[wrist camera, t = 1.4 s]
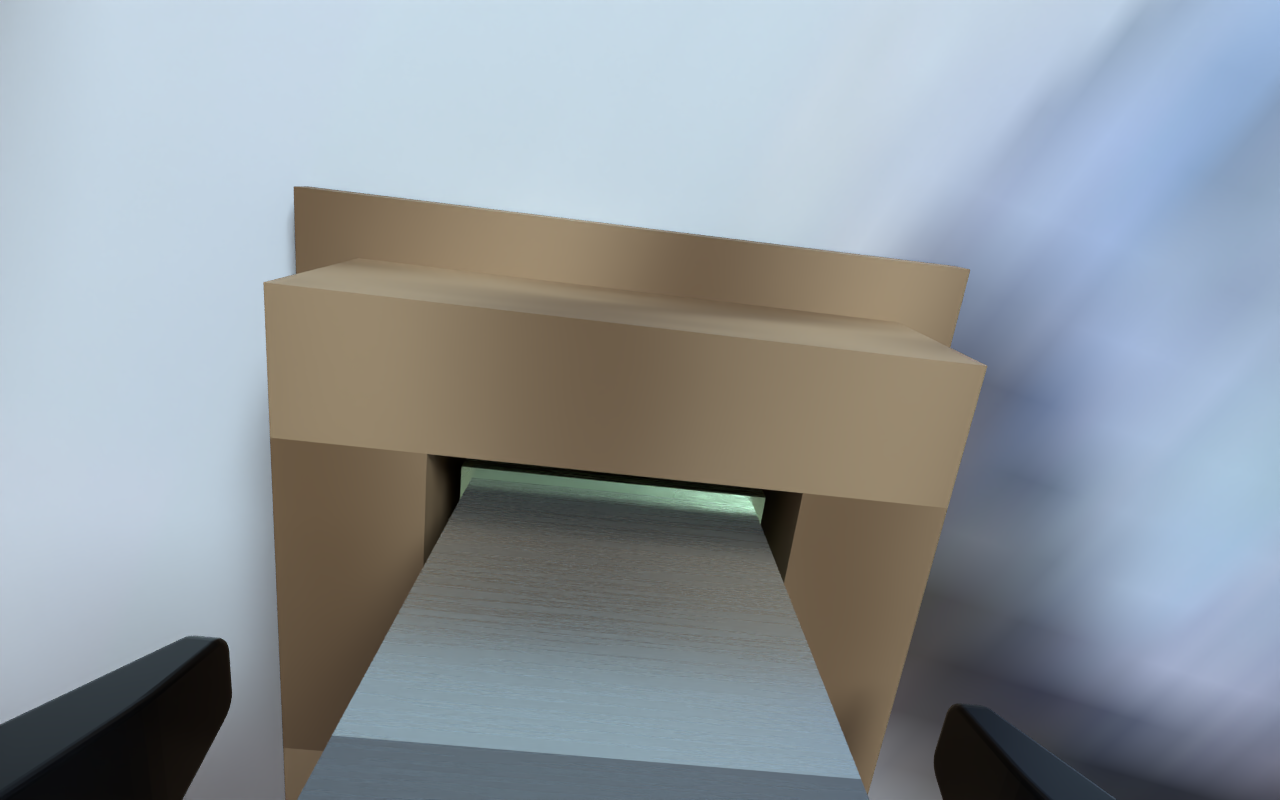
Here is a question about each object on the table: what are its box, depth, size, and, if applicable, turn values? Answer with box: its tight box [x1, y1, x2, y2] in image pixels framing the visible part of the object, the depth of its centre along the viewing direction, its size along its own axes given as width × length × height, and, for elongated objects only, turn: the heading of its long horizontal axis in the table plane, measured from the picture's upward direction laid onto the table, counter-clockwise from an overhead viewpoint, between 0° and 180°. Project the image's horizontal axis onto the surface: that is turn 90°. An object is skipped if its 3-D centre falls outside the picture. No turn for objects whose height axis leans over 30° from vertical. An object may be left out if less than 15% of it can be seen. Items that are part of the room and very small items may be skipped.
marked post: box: [297, 458, 869, 800], centre depth 9 cm, size 4×4×8 cm
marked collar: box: [264, 187, 987, 800], centre depth 11 cm, size 11×11×4 cm
